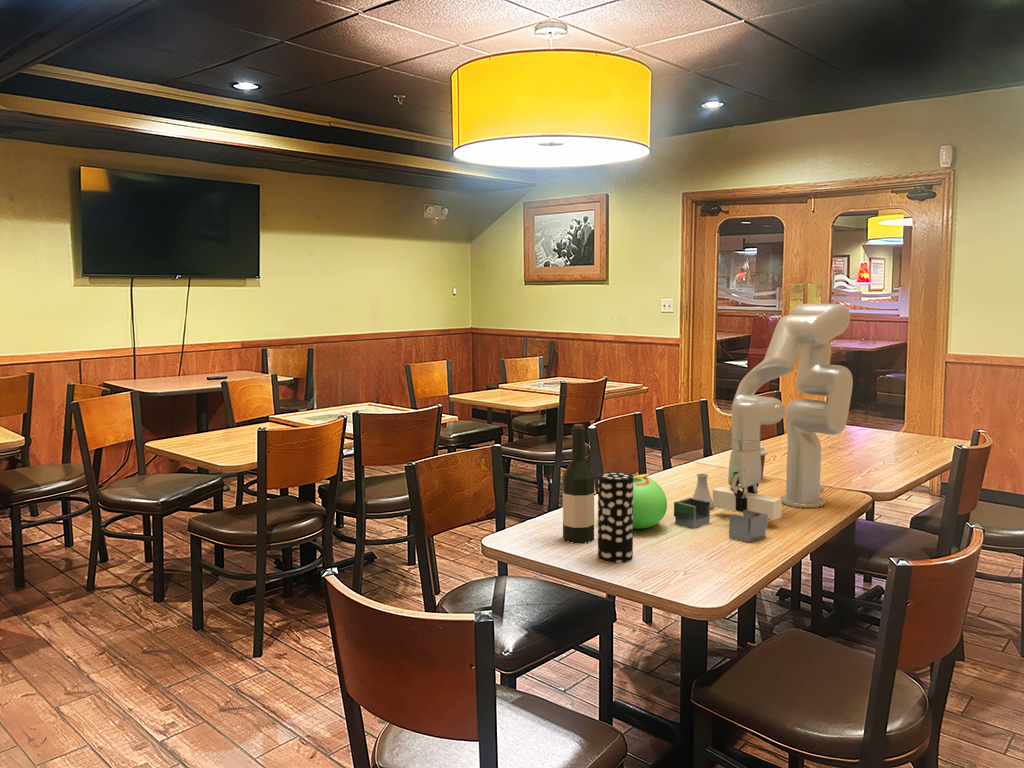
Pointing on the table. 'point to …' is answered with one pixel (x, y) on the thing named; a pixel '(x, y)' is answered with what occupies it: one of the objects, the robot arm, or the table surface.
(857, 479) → the table surface
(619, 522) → the white-spotted black cylinder
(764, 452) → the coffee cup
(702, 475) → the flask
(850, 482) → the table surface
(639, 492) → the toy bird
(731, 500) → the rail
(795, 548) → the table surface
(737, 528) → the bracket
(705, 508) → the bracket
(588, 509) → the wine bottle
